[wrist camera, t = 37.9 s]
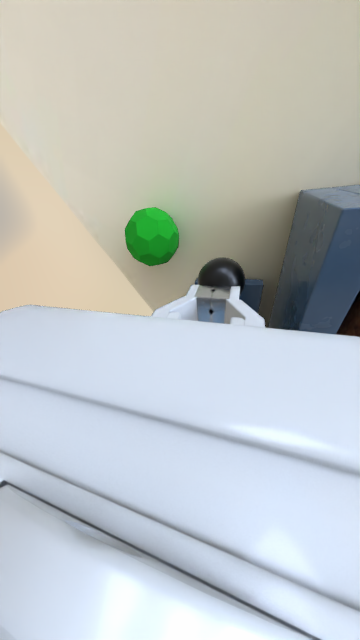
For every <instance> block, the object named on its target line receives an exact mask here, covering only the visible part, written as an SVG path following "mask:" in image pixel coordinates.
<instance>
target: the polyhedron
mask: <svg viewBox="0 0 360 640" xmlns="http://www.w3.org/2000/svg"><path fill="white" fill-rule="evenodd" d="M125 237H126V244H127V249H128V250H129V252H130V253H131V255H132V256H133V257H134V258H135V259H136V260H138V261H140V262H142V263H144V264H146V265H149V266H154V265H159V264H163V263H166V262H168V261H169V260H170V259H171V257H172V256H173V255H174V253H175V252H176V250H177V248H178V243H179V233H178V229H177V227H176V225H175V223H174V221H173V220H172V218H171V217H170V216H169V215H168V214H167V213H166V212H164V211H162V210H160V209H158V208H156V207H155V208H146V209H142V210H139V211H136V212H135V213H134V215H133V216H132V218H131V219H130V220H129V222H128V224H127V226H126V228H125Z"/></svg>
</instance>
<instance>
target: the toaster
mask: <svg viewBox="0 0 360 640" xmlns="http://www.w3.org/2000/svg"><path fill="white" fill-rule="evenodd" d="M359 297H360V185H350V186H340V187H332V188H319V189H309V190H301V191H300V194H299V198H298V202H297V206H296V211H295V215H294V219H293V223H292V228H291V232H290V236H289V240H288V244H287V249H286V253H285V257H284V261H283V266H282V270H281V274H280V278H279V283H278V287H277V291H276V295H275V299H274V304H273V308H272V312H271V316H270V321H269V325H268V328H274V329H285V330H295V331H305V332H316V333H326V334H336V333H337V331H338V329H339V327H340V325H341V323H342V322H343V320H344V318H345V316H346V314H347V312H348V311H349V309H350V308H351V306H352V305H353V304H354V302H355V301H356V300H357V299H358V298H359Z"/></svg>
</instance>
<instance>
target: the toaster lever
mask: <svg viewBox="0 0 360 640" xmlns="http://www.w3.org/2000/svg"><path fill="white" fill-rule="evenodd" d="M198 285H208V286H240V294H239V296H240V295H241V293H242V291H243V289H244V286H245V274H244V271H243V269H242V268H241V266H240V265H239V264H238V263H237V262H235V261H234V260H232V259H229V258H216V259H213V260H211V261H209V262H208V263H206V264H205V265H204V266H203V268H202V269H201V271H200V273H199V276H198Z"/></svg>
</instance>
